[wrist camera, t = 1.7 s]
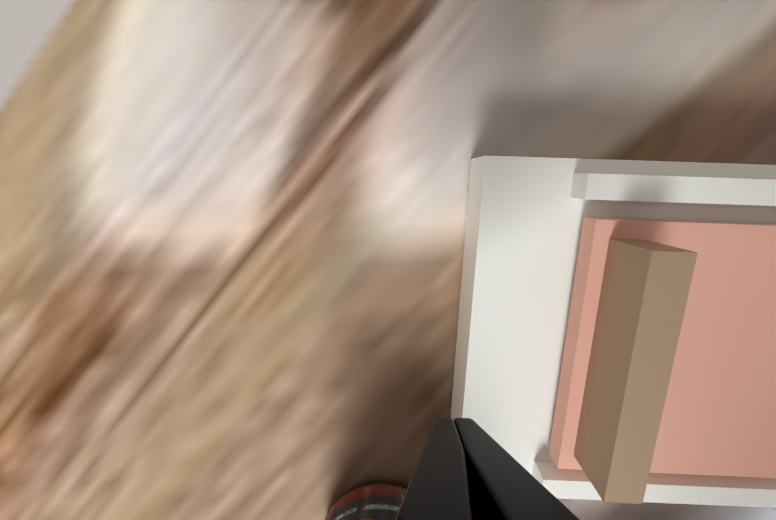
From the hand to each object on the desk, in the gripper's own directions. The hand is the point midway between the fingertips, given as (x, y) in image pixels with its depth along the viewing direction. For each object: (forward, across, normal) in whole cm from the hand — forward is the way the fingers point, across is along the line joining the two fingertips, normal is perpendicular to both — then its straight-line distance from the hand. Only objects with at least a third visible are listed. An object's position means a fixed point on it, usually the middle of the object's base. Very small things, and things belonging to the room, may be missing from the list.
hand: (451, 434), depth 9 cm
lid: (+5, -9, 0) cm, 11 cm away
